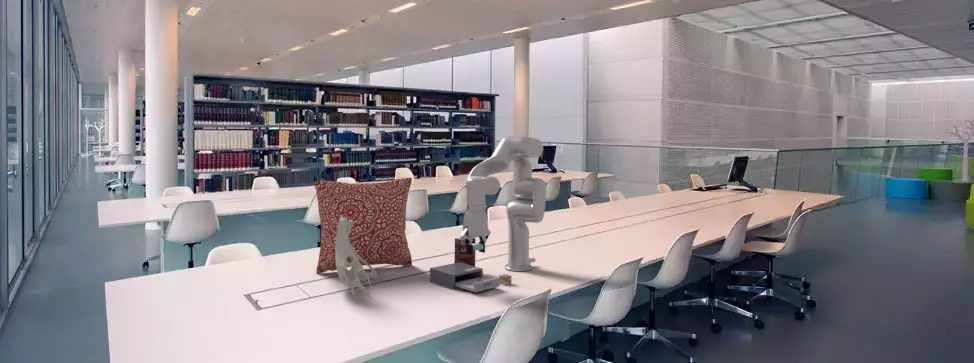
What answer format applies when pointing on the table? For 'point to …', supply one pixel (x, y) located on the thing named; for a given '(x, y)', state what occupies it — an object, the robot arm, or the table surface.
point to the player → (454, 274)
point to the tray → (478, 284)
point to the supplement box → (463, 253)
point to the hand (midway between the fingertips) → (475, 252)
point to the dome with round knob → (477, 246)
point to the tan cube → (505, 279)
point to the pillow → (365, 221)
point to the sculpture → (347, 251)
